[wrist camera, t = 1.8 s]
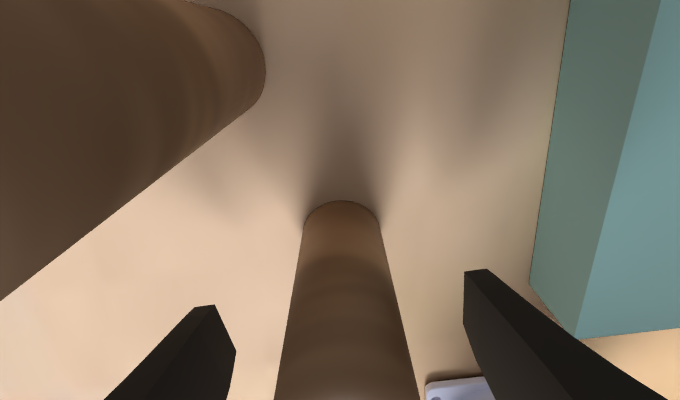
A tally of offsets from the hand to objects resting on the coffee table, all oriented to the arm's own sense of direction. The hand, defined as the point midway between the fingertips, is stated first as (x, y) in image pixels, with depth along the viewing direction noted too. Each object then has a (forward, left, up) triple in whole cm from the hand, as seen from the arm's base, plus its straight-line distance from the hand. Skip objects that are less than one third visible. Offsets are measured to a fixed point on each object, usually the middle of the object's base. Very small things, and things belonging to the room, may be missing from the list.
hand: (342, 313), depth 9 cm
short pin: (0, 0, -4) cm, 4 cm away
